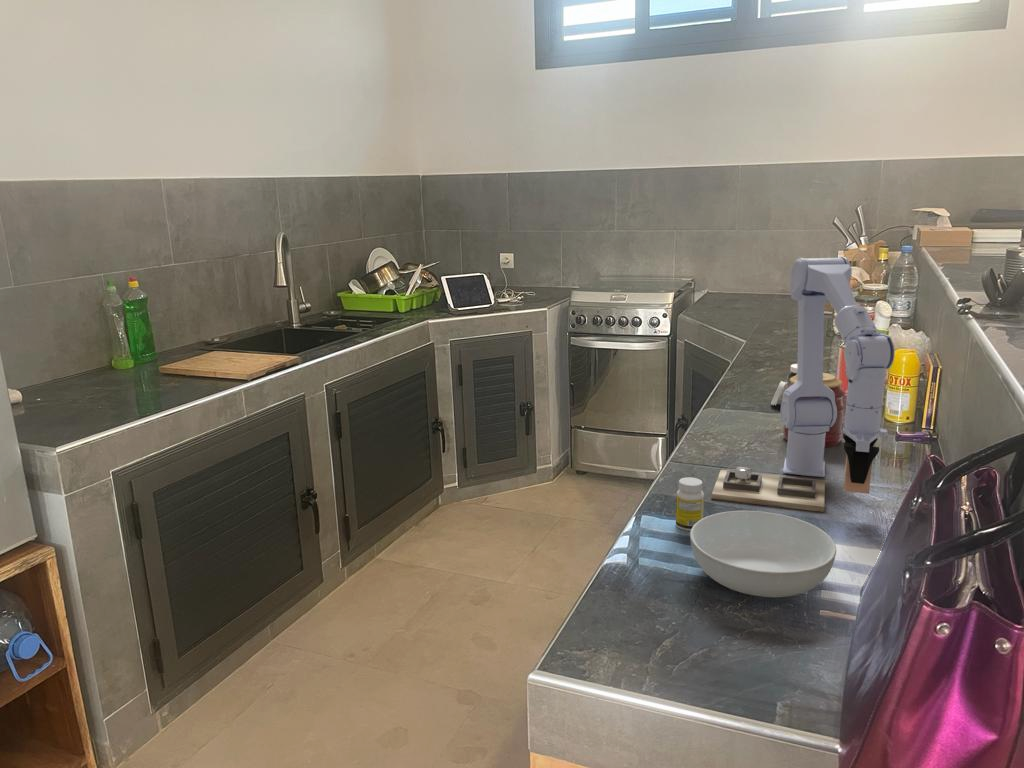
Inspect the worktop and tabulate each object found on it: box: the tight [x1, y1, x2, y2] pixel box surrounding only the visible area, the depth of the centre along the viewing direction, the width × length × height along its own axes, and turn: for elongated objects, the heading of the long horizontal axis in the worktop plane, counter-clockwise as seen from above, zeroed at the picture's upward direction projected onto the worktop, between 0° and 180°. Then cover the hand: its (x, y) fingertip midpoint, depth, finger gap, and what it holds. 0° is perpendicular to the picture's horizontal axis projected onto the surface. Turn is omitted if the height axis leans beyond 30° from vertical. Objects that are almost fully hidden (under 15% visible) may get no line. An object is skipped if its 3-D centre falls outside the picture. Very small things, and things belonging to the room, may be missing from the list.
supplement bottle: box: [675, 476, 705, 532], centre depth 137 cm, size 5×5×8 cm
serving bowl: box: [689, 510, 837, 598], centre depth 118 cm, size 21×21×7 cm
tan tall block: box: [843, 453, 873, 495], centre depth 139 cm, size 4×4×7 cm
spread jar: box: [770, 363, 798, 407], centre depth 208 cm, size 12×11×12 cm
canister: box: [781, 372, 846, 448], centre depth 181 cm, size 13×13×18 cm
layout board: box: [711, 469, 826, 513], centre depth 152 cm, size 14×20×2 cm
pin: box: [734, 466, 752, 484], centre depth 154 cm, size 3×3×3 cm
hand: (857, 478), depth 139 cm, fingers closed on tan tall block, 4 cm apart
